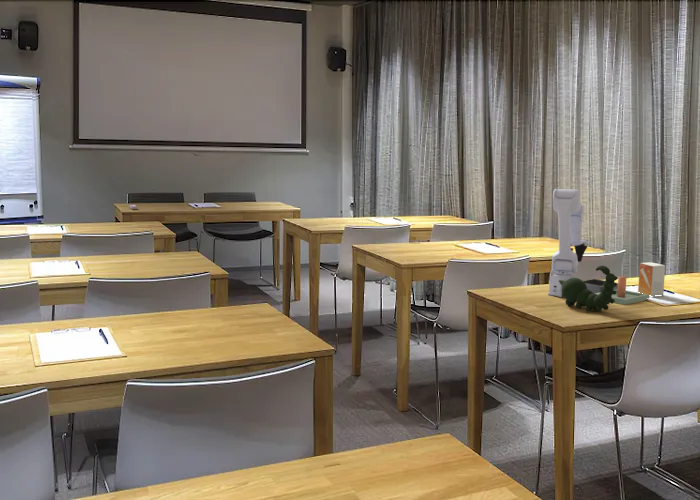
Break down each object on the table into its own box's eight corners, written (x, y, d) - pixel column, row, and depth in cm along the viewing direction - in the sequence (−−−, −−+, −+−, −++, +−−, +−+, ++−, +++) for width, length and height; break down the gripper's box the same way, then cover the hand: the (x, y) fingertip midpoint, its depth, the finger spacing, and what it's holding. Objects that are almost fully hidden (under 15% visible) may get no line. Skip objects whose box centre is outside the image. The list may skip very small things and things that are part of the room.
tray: (624, 304, 283) (624, 299, 283) (593, 298, 294) (594, 293, 294) (648, 299, 292) (648, 294, 292) (618, 293, 303) (618, 289, 303)
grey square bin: (600, 294, 301) (600, 286, 300) (575, 289, 311) (575, 281, 310) (618, 291, 308) (619, 283, 307) (593, 286, 318) (594, 278, 318)
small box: (637, 293, 304) (639, 262, 302) (650, 292, 306) (652, 261, 304) (650, 297, 296) (652, 265, 294) (663, 296, 298) (665, 265, 296)
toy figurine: (617, 317, 270) (564, 299, 290) (624, 268, 265) (570, 253, 286) (601, 320, 264) (548, 302, 285) (607, 270, 260) (553, 255, 280)
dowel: (622, 297, 291) (623, 278, 290) (615, 296, 293) (616, 276, 292) (626, 296, 292) (627, 277, 291) (620, 295, 295) (621, 276, 294)
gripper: (571, 233, 309) (569, 265, 311) (592, 231, 317) (591, 262, 319) (557, 232, 315) (556, 262, 317) (579, 229, 323) (578, 259, 325)
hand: (573, 262), depth 318 cm, fingers open, 7 cm apart
